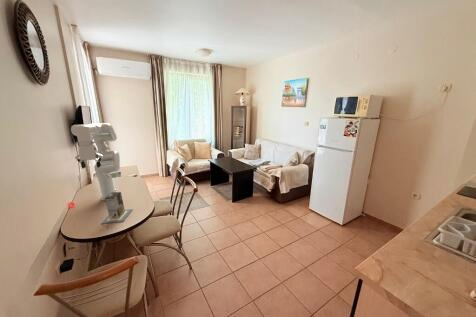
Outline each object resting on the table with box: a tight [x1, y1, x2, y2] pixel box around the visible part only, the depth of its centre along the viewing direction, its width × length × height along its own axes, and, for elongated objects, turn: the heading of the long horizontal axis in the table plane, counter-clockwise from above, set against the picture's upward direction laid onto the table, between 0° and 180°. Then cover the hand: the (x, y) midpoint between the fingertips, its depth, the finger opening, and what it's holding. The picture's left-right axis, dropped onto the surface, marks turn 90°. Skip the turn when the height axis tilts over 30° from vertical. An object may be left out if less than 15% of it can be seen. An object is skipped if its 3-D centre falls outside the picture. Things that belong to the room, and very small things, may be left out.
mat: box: [100, 208, 134, 225], centre depth 134 cm, size 16×14×1 cm
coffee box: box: [105, 191, 126, 219], centre depth 132 cm, size 9×6×16 cm
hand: (91, 167), depth 134 cm, fingers open, 9 cm apart
